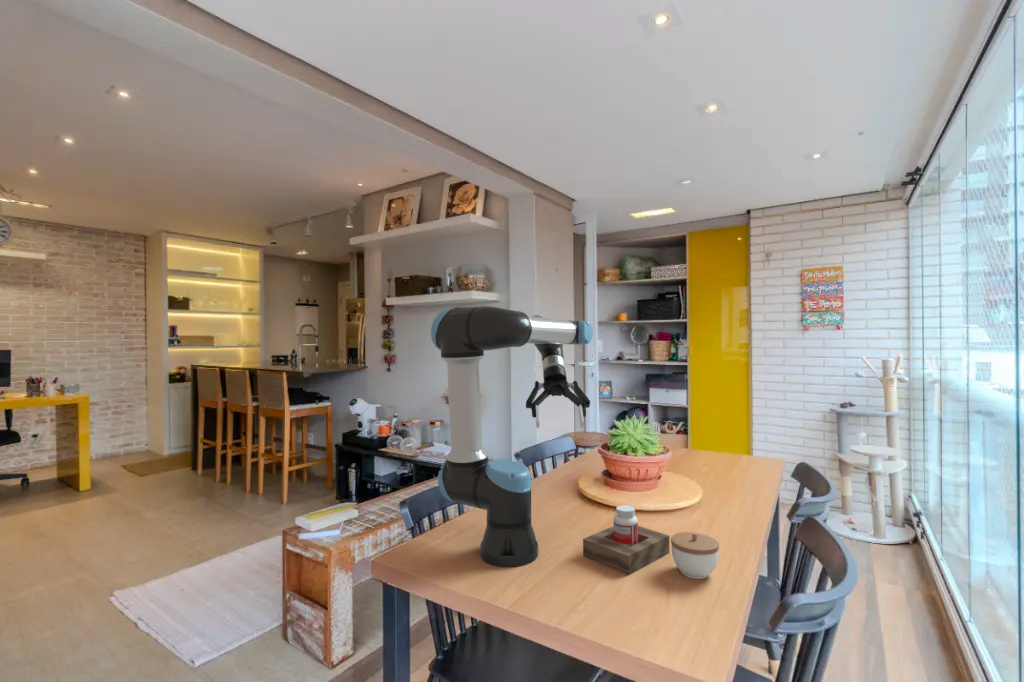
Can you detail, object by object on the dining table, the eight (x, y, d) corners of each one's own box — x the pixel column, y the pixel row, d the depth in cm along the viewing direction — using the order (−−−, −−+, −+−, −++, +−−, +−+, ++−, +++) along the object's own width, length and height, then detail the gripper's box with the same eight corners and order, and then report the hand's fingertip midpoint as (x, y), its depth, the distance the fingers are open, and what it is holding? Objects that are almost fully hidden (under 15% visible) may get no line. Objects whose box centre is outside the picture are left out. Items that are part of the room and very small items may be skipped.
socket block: (629, 575, 120) (628, 556, 120) (583, 556, 130) (583, 538, 130) (669, 552, 132) (669, 535, 132) (624, 537, 142) (624, 521, 142)
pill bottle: (629, 544, 135) (629, 502, 135) (642, 553, 129) (642, 510, 129) (609, 547, 133) (608, 505, 133) (621, 557, 127) (621, 513, 127)
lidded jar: (714, 588, 113) (714, 546, 113) (665, 576, 119) (665, 536, 119) (722, 569, 122) (722, 530, 122) (677, 559, 128) (677, 522, 128)
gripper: (590, 379, 172) (599, 431, 157) (516, 379, 171) (519, 432, 156) (593, 364, 166) (602, 417, 152) (517, 364, 166) (519, 418, 151)
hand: (560, 425), depth 154 cm, fingers open, 13 cm apart
